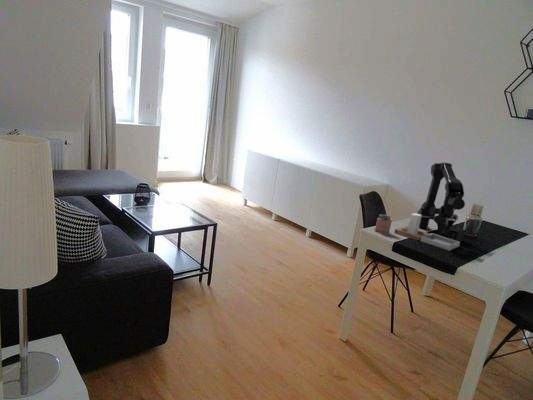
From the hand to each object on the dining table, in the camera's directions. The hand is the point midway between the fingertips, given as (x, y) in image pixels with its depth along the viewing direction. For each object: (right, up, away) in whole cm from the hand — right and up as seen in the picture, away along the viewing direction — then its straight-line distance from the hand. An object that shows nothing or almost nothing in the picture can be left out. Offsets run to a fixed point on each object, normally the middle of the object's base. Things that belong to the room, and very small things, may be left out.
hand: (442, 233), depth 197 cm
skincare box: (-12, -2, +12) cm, 17 cm away
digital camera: (+12, -5, +12) cm, 18 cm away
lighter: (-29, 0, +9) cm, 31 cm away
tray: (-1, -6, +1) cm, 6 cm away
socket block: (-12, -2, +12) cm, 17 cm away
